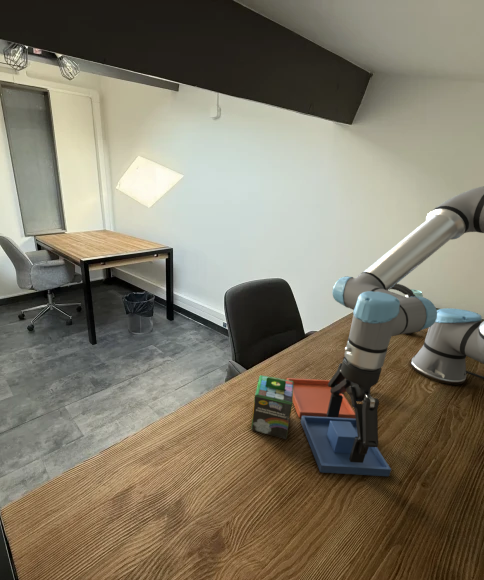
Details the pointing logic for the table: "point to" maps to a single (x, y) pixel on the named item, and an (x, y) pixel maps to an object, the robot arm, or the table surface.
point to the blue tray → (340, 461)
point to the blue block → (341, 436)
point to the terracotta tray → (316, 399)
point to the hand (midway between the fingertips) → (343, 436)
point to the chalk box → (272, 406)
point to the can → (416, 293)
